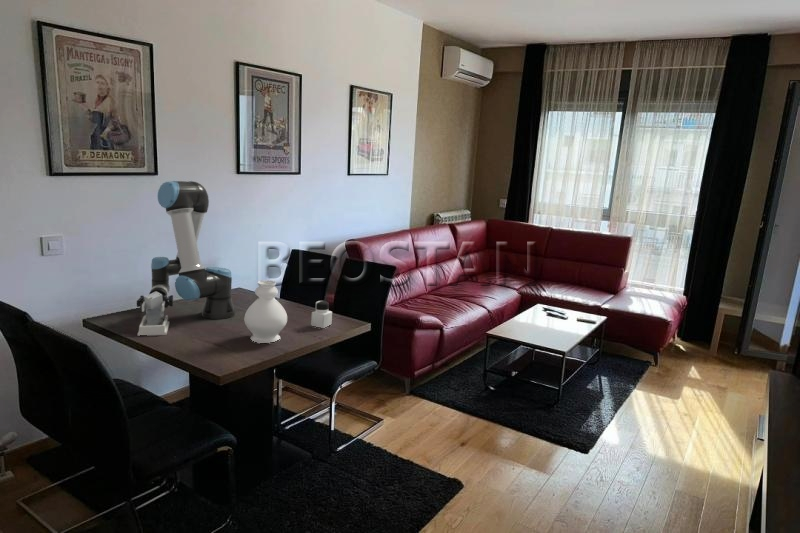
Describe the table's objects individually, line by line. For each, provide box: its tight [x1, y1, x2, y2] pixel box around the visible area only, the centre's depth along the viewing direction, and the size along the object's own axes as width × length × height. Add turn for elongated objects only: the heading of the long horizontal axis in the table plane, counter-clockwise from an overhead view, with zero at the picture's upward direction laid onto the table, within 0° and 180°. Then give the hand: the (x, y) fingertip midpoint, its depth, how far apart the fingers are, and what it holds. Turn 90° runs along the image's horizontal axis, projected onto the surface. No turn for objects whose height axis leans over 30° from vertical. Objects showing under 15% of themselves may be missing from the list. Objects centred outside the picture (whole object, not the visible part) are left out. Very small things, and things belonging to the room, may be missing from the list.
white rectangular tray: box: [137, 314, 170, 337], centre depth 230 cm, size 11×16×4 cm
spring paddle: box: [146, 309, 162, 326], centre depth 228 cm, size 5×1×8 cm, turn 109°
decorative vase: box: [243, 279, 288, 344], centre depth 226 cm, size 18×18×25 cm
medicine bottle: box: [310, 300, 333, 329], centre depth 250 cm, size 7×7×12 cm
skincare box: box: [143, 291, 165, 319], centre depth 231 cm, size 6×4×12 cm
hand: (152, 308), depth 226 cm, fingers closed on skincare box, 7 cm apart
